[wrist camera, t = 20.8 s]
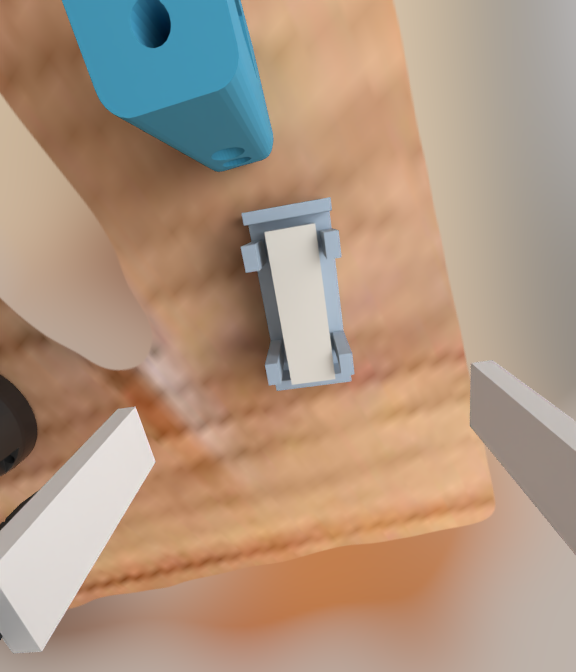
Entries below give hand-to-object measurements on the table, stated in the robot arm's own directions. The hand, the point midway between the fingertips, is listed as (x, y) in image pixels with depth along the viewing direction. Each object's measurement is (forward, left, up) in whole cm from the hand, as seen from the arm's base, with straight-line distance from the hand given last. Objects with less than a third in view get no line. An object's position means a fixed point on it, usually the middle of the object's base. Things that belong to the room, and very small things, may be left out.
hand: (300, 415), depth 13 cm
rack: (0, 0, -22) cm, 22 cm away
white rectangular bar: (0, 0, -21) cm, 21 cm away
